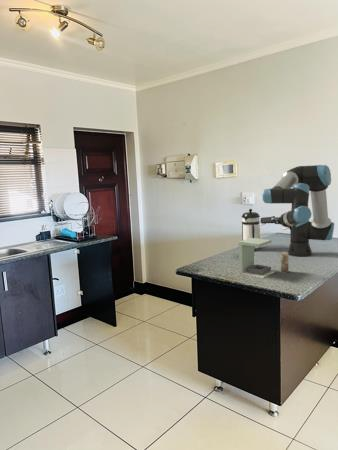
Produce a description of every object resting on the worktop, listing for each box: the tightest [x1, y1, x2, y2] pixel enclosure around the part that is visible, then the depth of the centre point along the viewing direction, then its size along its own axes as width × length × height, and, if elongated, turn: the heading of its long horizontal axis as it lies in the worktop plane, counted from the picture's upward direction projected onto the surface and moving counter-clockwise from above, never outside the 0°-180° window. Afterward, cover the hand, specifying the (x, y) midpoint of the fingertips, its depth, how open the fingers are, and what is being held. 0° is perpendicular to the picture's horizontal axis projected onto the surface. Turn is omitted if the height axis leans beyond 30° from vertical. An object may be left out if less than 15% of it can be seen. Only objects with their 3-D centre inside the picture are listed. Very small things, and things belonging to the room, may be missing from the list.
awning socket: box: [238, 238, 276, 279], centre depth 194 cm, size 15×13×18 cm
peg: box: [280, 251, 289, 274], centre depth 194 cm, size 4×4×11 cm
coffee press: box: [241, 208, 262, 252], centre depth 251 cm, size 17×16×30 cm
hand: (272, 225), depth 197 cm, fingers open, 13 cm apart
